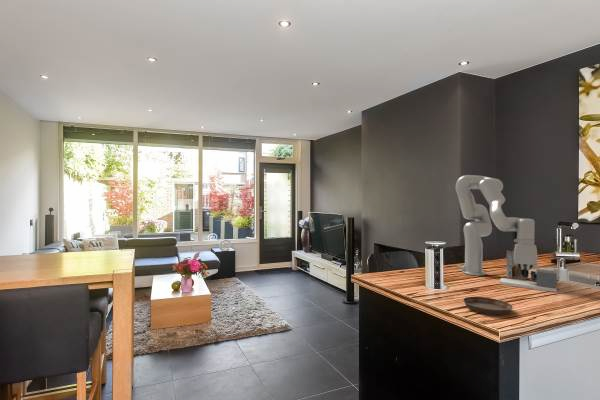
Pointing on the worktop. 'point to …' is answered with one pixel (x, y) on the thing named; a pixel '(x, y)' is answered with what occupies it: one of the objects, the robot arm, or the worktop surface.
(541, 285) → the block
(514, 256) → the robot arm
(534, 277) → the shaft
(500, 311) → the plant saucer
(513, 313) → the worktop surface
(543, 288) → the base board
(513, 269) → the coffee box
